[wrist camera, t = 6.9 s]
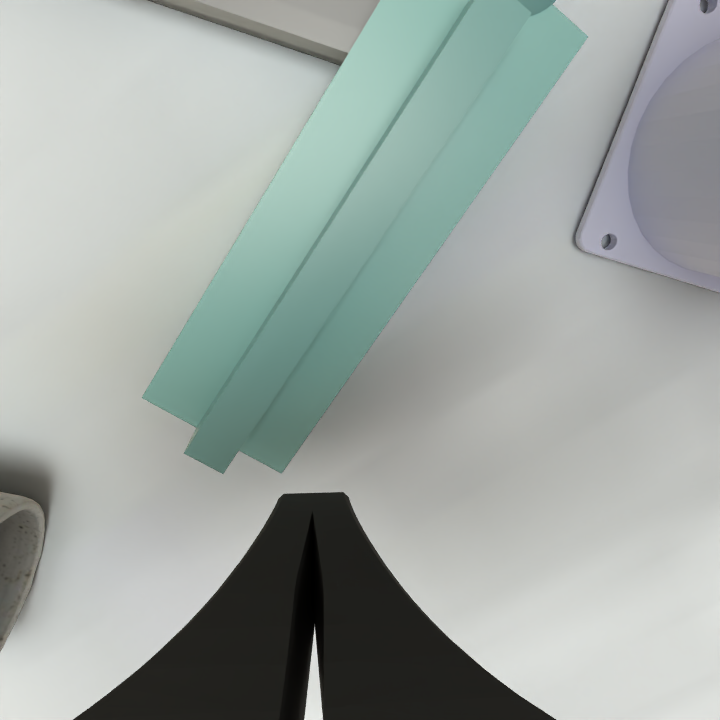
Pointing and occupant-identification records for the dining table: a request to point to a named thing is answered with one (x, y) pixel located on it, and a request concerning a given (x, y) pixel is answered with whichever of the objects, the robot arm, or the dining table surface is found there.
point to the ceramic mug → (17, 555)
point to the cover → (357, 216)
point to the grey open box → (289, 21)
